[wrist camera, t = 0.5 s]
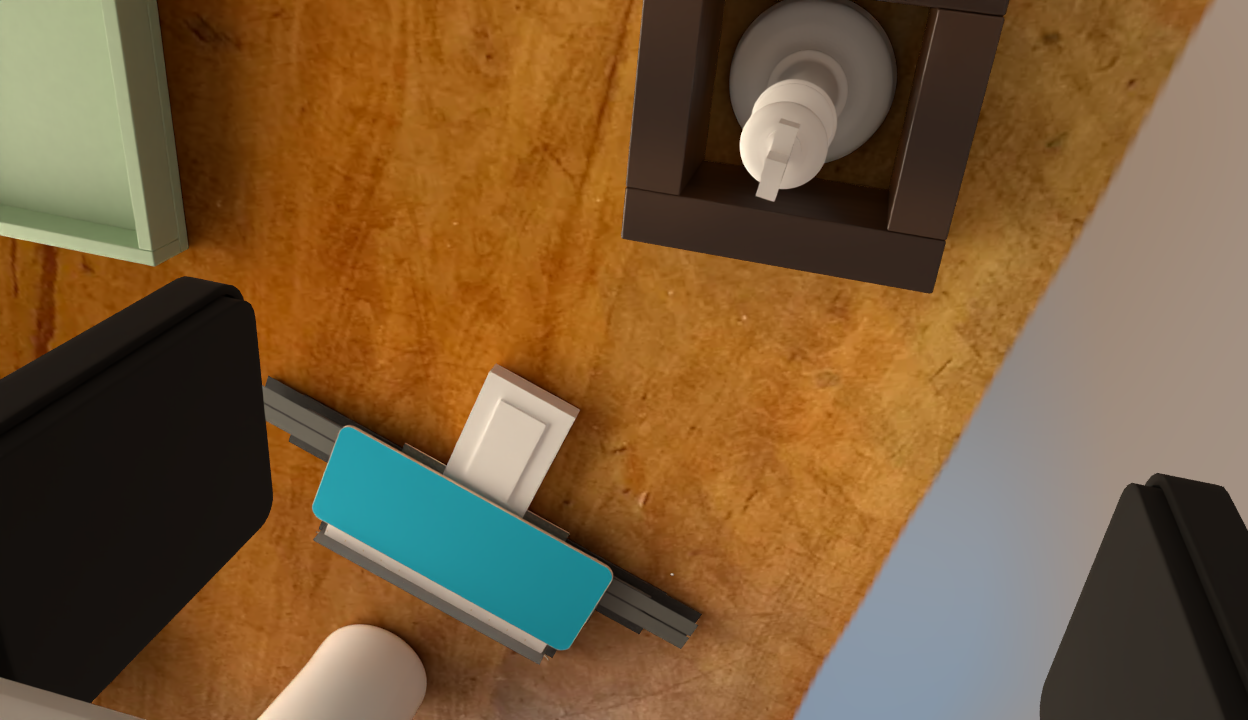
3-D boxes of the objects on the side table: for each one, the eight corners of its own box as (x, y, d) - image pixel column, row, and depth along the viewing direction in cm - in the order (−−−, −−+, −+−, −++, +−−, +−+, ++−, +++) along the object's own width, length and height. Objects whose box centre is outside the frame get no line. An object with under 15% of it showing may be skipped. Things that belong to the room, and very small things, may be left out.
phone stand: (773, 514, 36) (768, 541, 35) (639, 700, 42) (630, 729, 41) (305, 257, 36) (280, 273, 35) (237, 478, 42) (214, 500, 41)
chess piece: (710, 134, 31) (635, 239, 22) (757, -28, 28) (693, 19, 20) (862, 182, 30) (845, 308, 21) (922, 20, 28) (932, 91, 19)
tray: (-130, -102, 34) (-184, -100, 33) (149, -65, 32) (106, -61, 31) (-54, 200, 40) (-98, 216, 38) (189, 248, 38) (154, 267, 36)
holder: (683, -102, 28) (651, -97, 24) (1008, -65, 26) (1024, -54, 23) (650, 199, 32) (620, 239, 29) (928, 246, 30) (932, 295, 27)
